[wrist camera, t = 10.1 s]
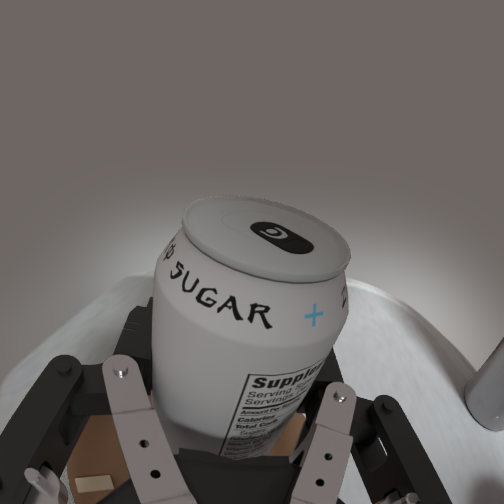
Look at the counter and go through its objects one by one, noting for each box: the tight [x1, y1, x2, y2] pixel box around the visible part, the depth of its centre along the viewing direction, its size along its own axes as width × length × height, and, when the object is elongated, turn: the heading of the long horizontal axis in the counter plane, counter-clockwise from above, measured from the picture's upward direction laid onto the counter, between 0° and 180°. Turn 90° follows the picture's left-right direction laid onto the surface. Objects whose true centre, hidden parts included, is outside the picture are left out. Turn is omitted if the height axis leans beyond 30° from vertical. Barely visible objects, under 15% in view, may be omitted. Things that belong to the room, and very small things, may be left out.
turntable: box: [67, 390, 306, 504], centre depth 17 cm, size 18×18×2 cm
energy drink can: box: [152, 195, 351, 460], centre depth 12 cm, size 6×6×15 cm
